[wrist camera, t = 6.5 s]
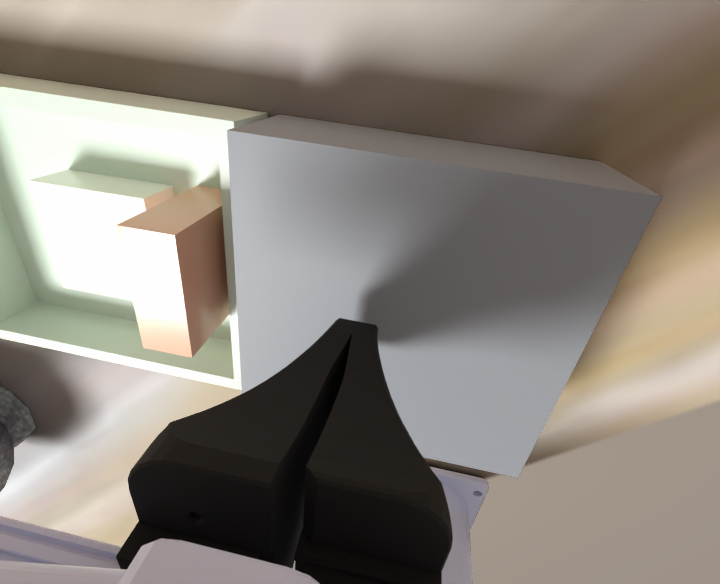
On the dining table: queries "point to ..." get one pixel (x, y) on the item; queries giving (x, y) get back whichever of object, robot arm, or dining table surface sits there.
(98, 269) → the cream tile
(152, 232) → the terracotta tile
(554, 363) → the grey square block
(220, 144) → the green bin
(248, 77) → the dining table surface
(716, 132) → the dining table surface
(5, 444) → the mortar and pestle
